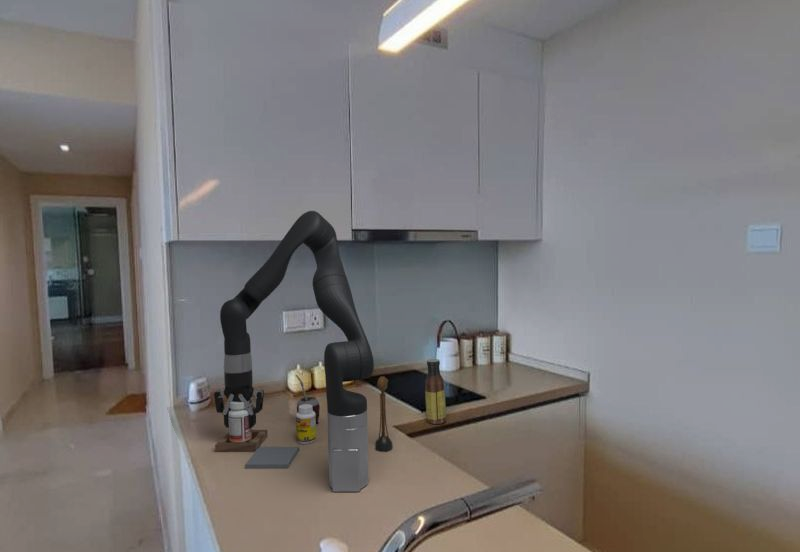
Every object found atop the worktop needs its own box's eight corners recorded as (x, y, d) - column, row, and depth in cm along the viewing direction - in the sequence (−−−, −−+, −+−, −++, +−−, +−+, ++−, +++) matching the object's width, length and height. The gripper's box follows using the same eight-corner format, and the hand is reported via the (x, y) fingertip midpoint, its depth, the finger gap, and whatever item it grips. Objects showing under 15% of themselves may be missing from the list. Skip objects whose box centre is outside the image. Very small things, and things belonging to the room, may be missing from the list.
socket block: (254, 451, 128) (254, 444, 128) (215, 452, 128) (215, 444, 128) (267, 436, 139) (267, 429, 139) (231, 436, 139) (230, 430, 139)
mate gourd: (318, 427, 145) (317, 379, 145) (292, 428, 145) (291, 380, 144) (321, 419, 153) (320, 374, 152) (296, 420, 152) (295, 374, 152)
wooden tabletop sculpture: (380, 442, 133) (379, 373, 132) (395, 444, 131) (394, 374, 130) (372, 450, 127) (371, 378, 126) (388, 452, 126) (387, 379, 125)
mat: (288, 468, 117) (288, 464, 117) (245, 468, 118) (244, 464, 118) (299, 450, 128) (299, 446, 128) (259, 450, 129) (259, 446, 129)
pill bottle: (249, 433, 137) (247, 395, 137) (254, 440, 132) (253, 401, 131) (227, 438, 134) (225, 399, 134) (231, 445, 129) (230, 405, 128)
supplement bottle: (292, 442, 134) (291, 407, 133) (305, 436, 139) (304, 402, 138) (307, 446, 131) (306, 410, 131) (320, 439, 136) (319, 404, 136)
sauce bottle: (444, 418, 152) (443, 357, 151) (447, 425, 146) (446, 361, 145) (424, 418, 152) (423, 358, 151) (426, 425, 145) (425, 362, 145)
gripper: (267, 365, 135) (269, 422, 136) (219, 365, 136) (221, 421, 137) (258, 372, 128) (259, 432, 129) (207, 372, 129) (209, 431, 130)
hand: (240, 426), depth 133 cm, fingers closed on pill bottle, 6 cm apart
